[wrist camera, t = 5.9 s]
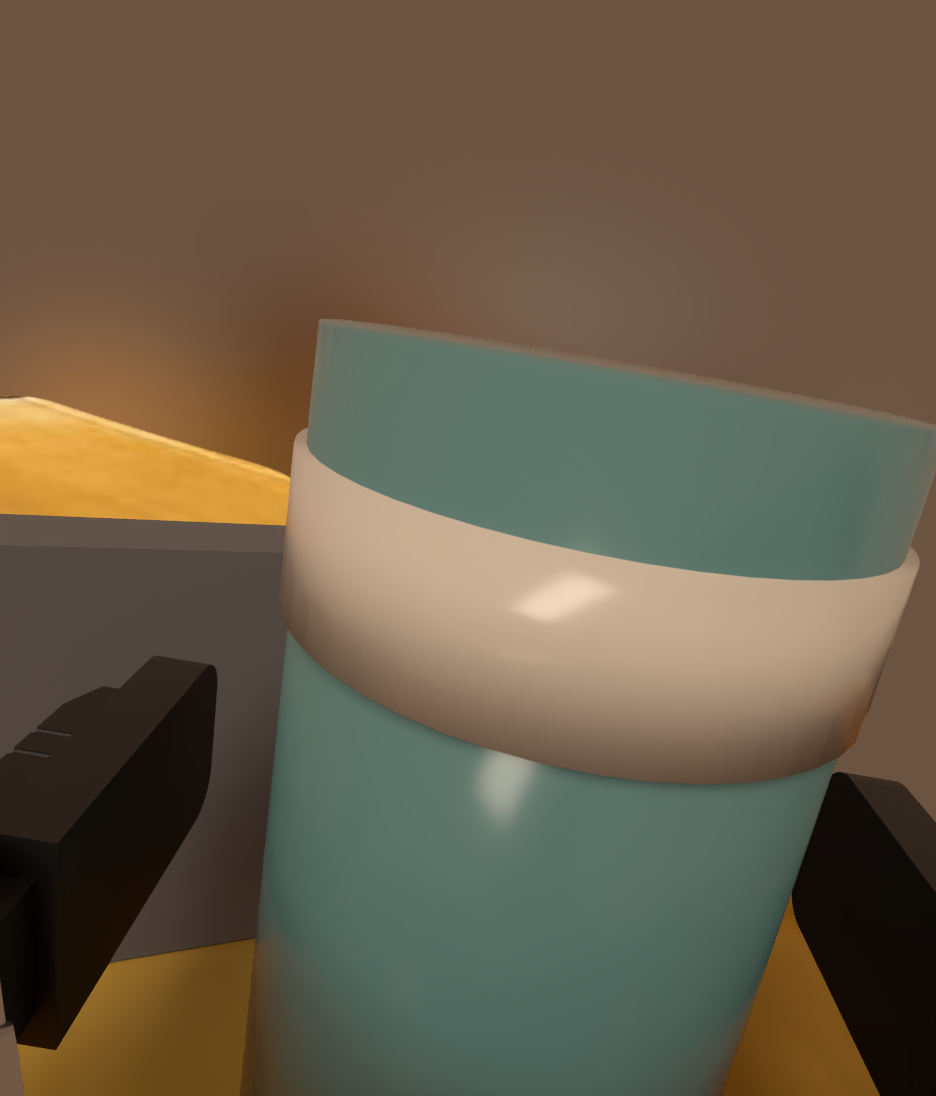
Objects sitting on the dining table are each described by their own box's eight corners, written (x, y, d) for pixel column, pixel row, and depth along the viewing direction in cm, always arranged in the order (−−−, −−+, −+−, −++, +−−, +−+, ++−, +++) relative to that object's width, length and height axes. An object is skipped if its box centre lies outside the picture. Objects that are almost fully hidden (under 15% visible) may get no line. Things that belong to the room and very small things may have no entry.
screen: (673, 822, 21) (752, 545, 19) (708, 859, 20) (798, 566, 17) (-290, 959, 13) (-363, 499, 11) (-337, 1037, 12) (-433, 533, 9)
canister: (443, 1029, 14) (576, 352, 10) (705, 1330, 10) (1041, 440, 7) (137, 1237, 10) (189, 295, 7) (377, 1817, 7) (752, 423, 3)
